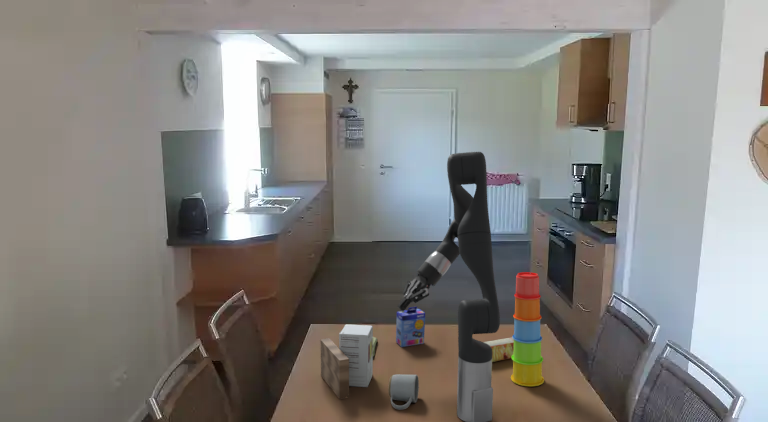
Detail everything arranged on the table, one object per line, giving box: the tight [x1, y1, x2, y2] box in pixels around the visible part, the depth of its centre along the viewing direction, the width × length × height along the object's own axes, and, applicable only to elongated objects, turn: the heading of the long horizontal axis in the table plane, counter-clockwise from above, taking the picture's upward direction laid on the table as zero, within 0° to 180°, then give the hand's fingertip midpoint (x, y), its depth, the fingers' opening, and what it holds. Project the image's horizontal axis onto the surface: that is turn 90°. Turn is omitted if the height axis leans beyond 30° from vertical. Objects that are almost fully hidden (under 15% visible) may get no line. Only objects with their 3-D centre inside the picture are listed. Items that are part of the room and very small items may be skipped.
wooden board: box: [319, 338, 350, 400], centre depth 174 cm, size 18×3×12 cm, turn 24°
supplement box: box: [338, 324, 374, 388], centre depth 177 cm, size 10×9×17 cm
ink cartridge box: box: [395, 306, 426, 348], centre depth 209 cm, size 10×6×14 cm, turn 115°
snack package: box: [483, 337, 514, 363], centre depth 197 cm, size 21×7×7 cm, turn 115°
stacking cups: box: [510, 271, 545, 387], centre depth 176 cm, size 10×10×35 cm
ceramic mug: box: [387, 373, 420, 411], centre depth 164 cm, size 11×8×8 cm
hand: (400, 308), depth 181 cm, fingers closed
